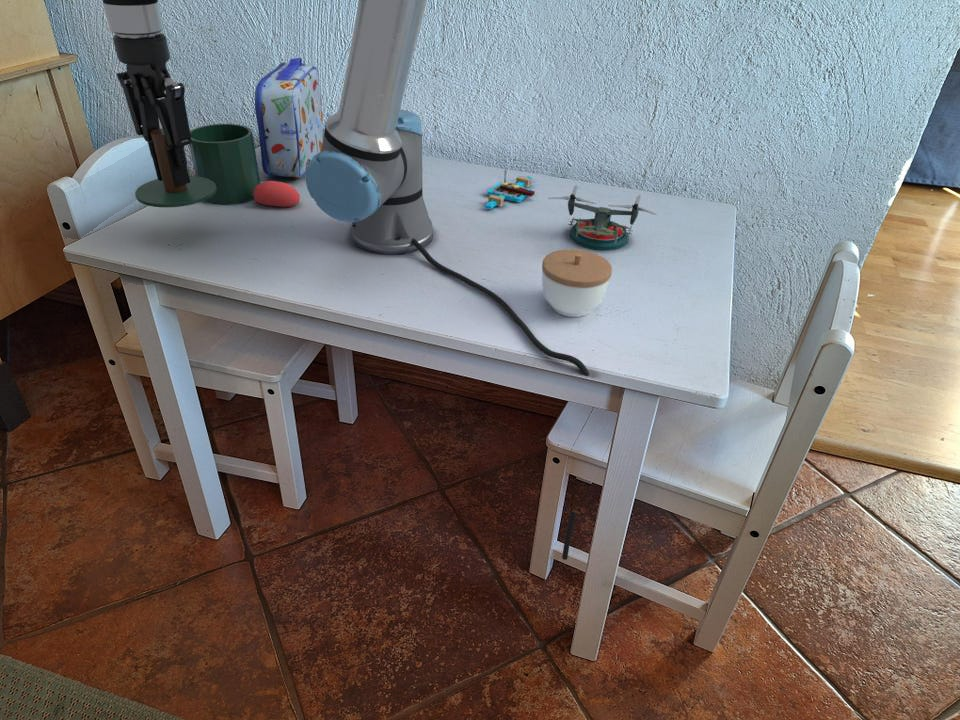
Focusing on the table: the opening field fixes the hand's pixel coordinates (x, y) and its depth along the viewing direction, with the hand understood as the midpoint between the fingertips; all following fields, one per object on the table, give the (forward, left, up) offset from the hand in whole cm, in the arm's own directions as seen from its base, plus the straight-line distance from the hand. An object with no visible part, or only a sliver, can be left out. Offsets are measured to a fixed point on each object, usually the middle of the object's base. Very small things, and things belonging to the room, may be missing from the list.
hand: (174, 180), depth 114 cm
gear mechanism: (-39, -53, -11) cm, 67 cm away
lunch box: (+11, -40, -11) cm, 43 cm away
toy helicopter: (-63, -43, -11) cm, 77 cm away
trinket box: (-69, -18, -11) cm, 72 cm away
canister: (+10, -19, -11) cm, 24 cm away
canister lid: (0, 0, -2) cm, 2 cm away
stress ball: (-2, -20, -11) cm, 23 cm away
